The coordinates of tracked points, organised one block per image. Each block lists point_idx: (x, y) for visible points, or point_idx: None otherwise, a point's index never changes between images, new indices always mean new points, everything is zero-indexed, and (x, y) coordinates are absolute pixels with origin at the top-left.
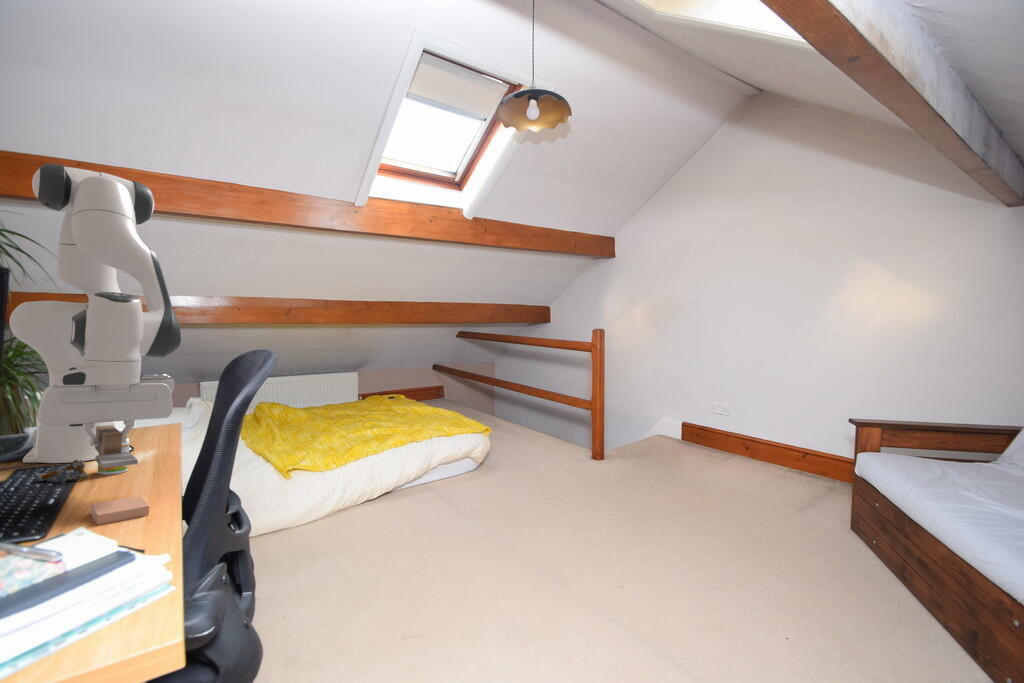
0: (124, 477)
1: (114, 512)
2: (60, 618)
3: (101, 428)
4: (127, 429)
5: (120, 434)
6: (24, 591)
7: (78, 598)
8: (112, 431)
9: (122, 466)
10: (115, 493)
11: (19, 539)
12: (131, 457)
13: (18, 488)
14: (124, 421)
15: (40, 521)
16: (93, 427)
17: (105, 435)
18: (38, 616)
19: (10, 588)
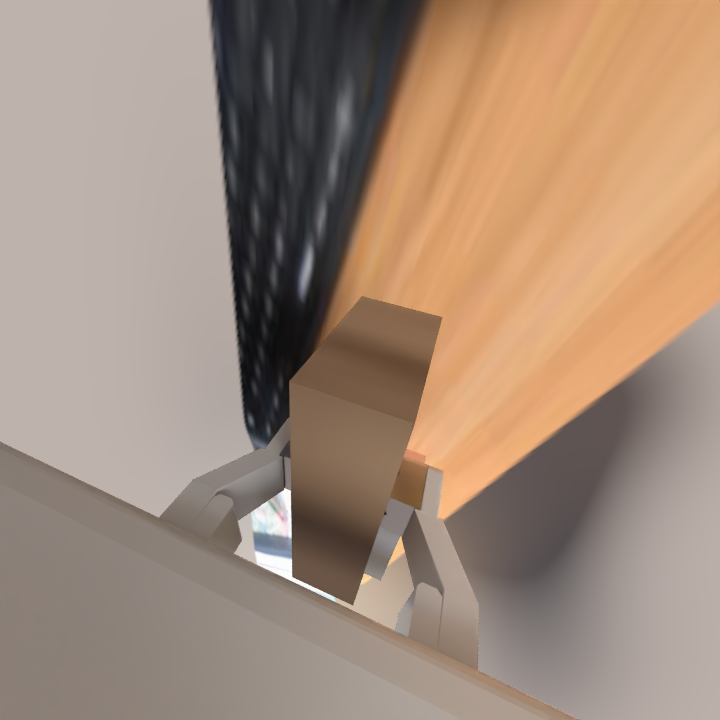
0: (625, 79)
1: None
2: (277, 573)
3: (306, 471)
4: (417, 581)
5: (346, 598)
6: (261, 536)
7: (288, 567)
8: (335, 557)
9: None
10: (439, 335)
11: (254, 442)
12: (379, 560)
13: None
14: (403, 626)
15: (277, 397)
16: (238, 540)
17: (293, 575)
18: (268, 563)
19: (253, 526)
